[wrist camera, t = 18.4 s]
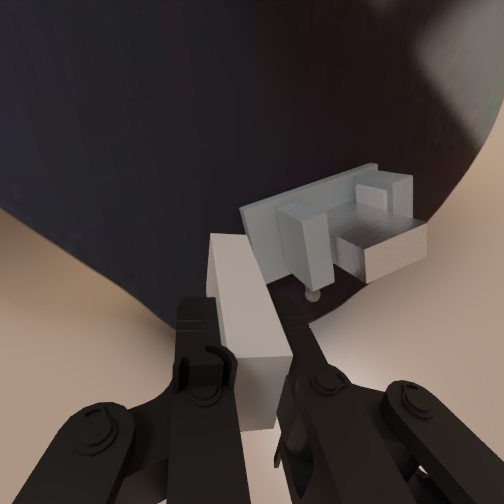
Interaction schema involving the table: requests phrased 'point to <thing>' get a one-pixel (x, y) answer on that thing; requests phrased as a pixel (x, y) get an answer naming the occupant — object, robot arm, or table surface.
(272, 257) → the vise
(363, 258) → the steel block
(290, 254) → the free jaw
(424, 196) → the table surface
